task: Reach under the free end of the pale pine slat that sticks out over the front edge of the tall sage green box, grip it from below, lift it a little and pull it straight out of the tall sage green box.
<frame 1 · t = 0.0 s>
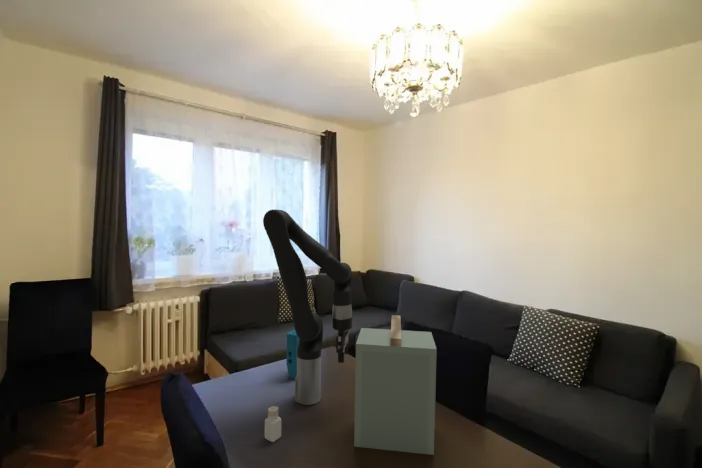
hand: (343, 357, 131), 17 cm above the table, tool pointing down, fingers open, 8 cm apart
tall sage green box: (393, 434, 112), on the table
slat: (395, 332, 116), point 32 cm above the table, touching tall sage green box
salt shaker: (272, 438, 109), on the table
block: (298, 375, 154), on the table
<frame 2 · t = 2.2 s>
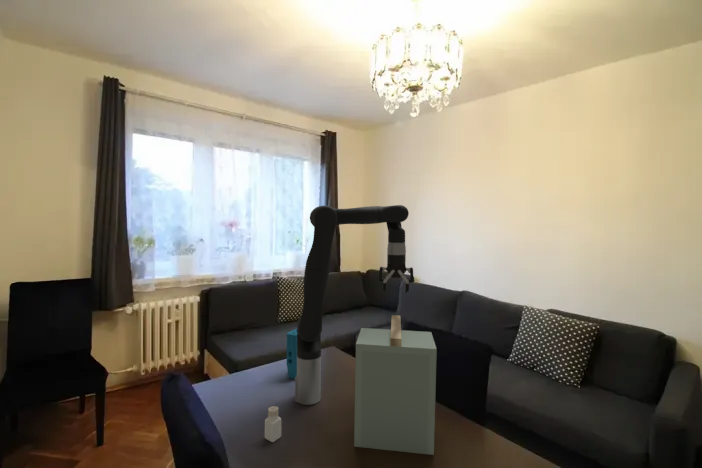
hand: (396, 292, 143), 40 cm above the table, tool pointing down, fingers open, 8 cm apart
nothing on the table moved.
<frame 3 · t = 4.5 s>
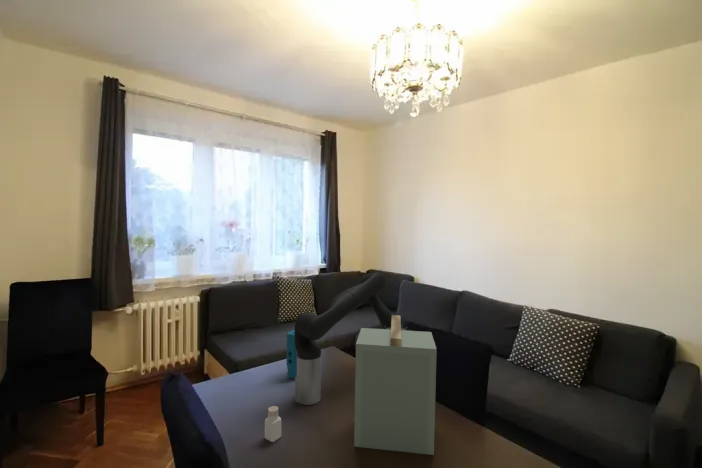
hand: (395, 329, 135), 27 cm above the table, tool pointing upward, fingers open, 8 cm apart
nothing on the table moved.
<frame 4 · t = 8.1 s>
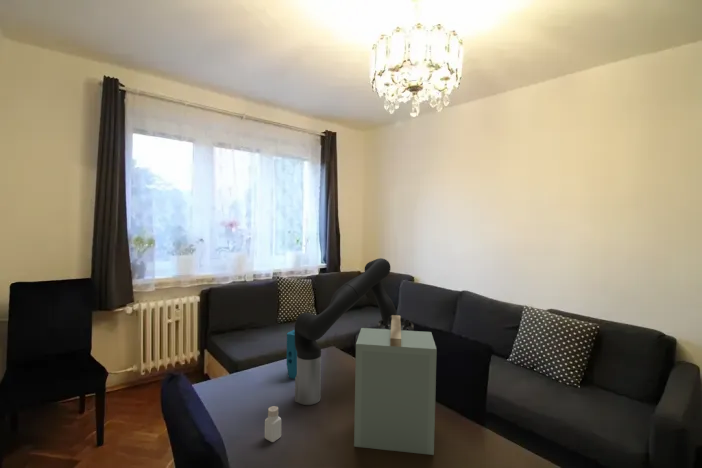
hand: (396, 319, 122), 35 cm above the table, tool pointing upward, fingers closed on slat, 3 cm apart
slat: (395, 332, 116), point 32 cm above the table, touching gripper, tall sage green box
everything else where it was.
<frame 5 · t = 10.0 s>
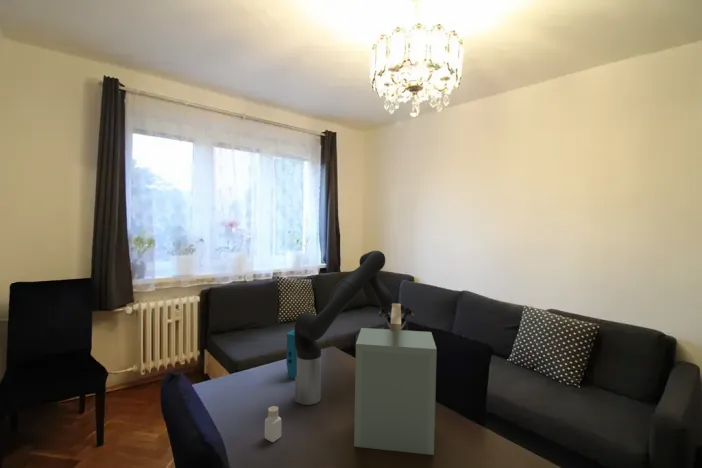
hand: (396, 307, 124), 39 cm above the table, tool pointing upward, fingers closed on slat, 3 cm apart
slat: (396, 319, 118), point 36 cm above the table, touching gripper
everything else where it was.
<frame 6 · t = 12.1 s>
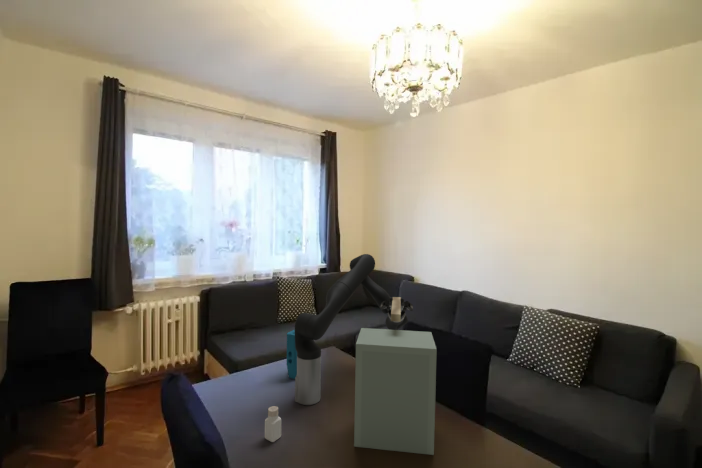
hand: (396, 300, 134), 39 cm above the table, tool pointing upward, fingers closed on slat, 3 cm apart
slat: (396, 311, 128), point 36 cm above the table, touching gripper
everything else where it was.
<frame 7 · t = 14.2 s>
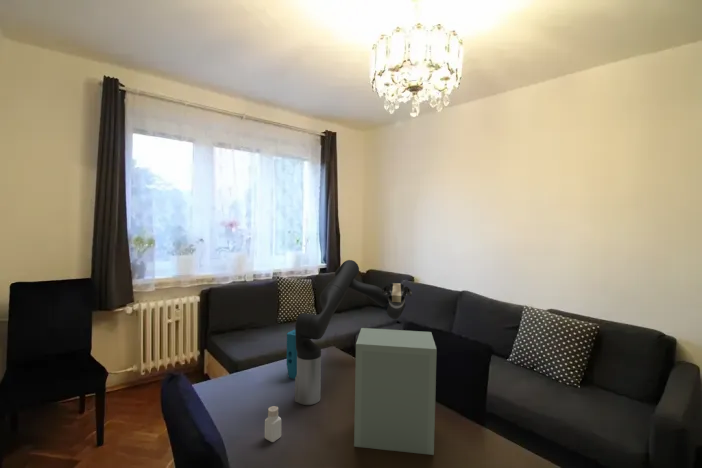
hand: (396, 285, 143), 43 cm above the table, tool pointing upward, fingers closed on slat, 3 cm apart
slat: (396, 294, 137), point 40 cm above the table, touching gripper
everything else where it was.
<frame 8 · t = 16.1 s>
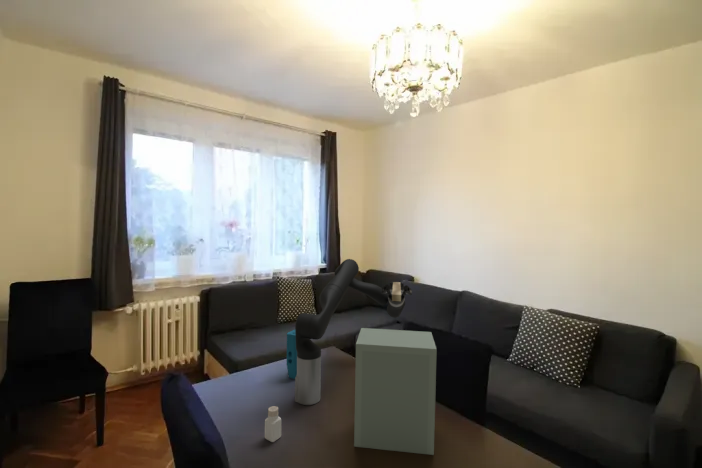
hand: (396, 284, 143), 43 cm above the table, tool pointing upward, fingers closed on slat, 3 cm apart
slat: (396, 293, 137), point 41 cm above the table, touching gripper
everything else where it was.
at the end: the gripper is holding slat; slat moved 23.6 cm from its start; slat touching gripper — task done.
